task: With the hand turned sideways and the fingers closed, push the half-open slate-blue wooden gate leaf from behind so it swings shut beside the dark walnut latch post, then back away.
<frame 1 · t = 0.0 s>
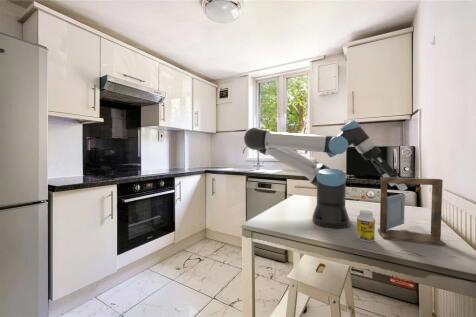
hand: (398, 187, 96), 15 cm above the table, tool tilted 35°, fingers open, 13 cm apart
gate frame: (408, 237, 78), on the table
gate leaf: (394, 211, 85), point 8 cm above the table, hinge at 50.0°
supplement bottle: (365, 239, 77), on the table
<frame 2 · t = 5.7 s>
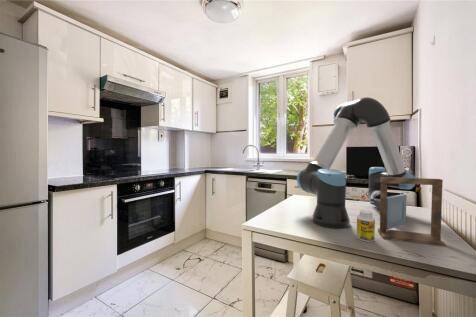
hand: (397, 211, 88), 7 cm above the table, tool horizontal, fingers closed
gate leaf: (395, 211, 84), point 8 cm above the table, hinge at 47.4°, touching gripper
everything else where it was.
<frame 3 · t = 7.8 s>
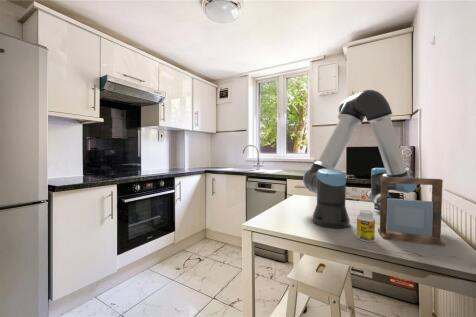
hand: (405, 218, 79), 7 cm above the table, tool horizontal, fingers closed, pressing on gate leaf
gate leaf: (408, 216, 78), point 8 cm above the table, hinge at -2.8°, touching gripper
everything else where it was.
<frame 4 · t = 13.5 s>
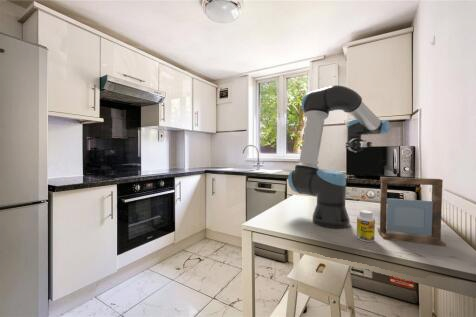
hand: (364, 144, 102), 35 cm above the table, tool horizontal, fingers closed
gate leaf: (408, 216, 78), point 8 cm above the table, hinge at -0.9°
everything else where it was.
at the end: gate leaf at -1° (first picture: +50°); supplement bottle moved 0.2 cm from its start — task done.
